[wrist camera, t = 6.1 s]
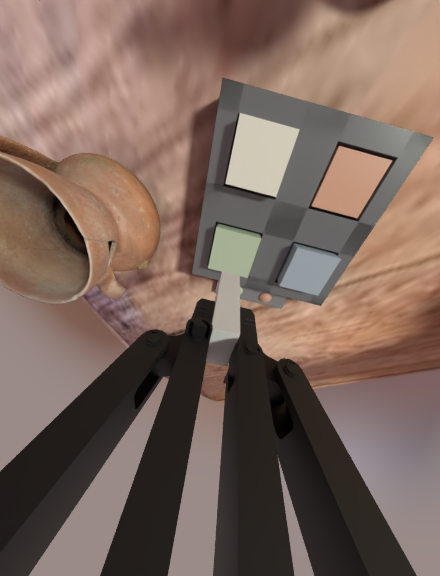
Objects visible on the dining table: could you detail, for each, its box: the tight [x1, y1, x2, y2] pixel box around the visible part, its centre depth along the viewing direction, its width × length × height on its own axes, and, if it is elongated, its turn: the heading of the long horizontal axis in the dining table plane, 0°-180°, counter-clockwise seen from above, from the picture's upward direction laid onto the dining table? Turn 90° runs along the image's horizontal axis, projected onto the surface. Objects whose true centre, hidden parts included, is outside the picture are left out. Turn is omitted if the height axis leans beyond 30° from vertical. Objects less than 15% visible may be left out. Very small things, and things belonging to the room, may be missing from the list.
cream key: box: [225, 113, 300, 197], centre depth 18 cm, size 6×6×2 cm
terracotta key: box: [310, 146, 392, 218], centre depth 20 cm, size 6×6×2 cm
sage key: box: [208, 223, 261, 278], centre depth 23 cm, size 6×6×2 cm
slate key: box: [277, 243, 341, 296], centre depth 23 cm, size 6×6×2 cm
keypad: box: [192, 78, 434, 306], centre depth 22 cm, size 20×20×4 cm
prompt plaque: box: [215, 280, 287, 309], centre depth 30 cm, size 12×3×1 cm, turn 77°
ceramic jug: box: [0, 136, 160, 304], centre depth 20 cm, size 18×14×14 cm
